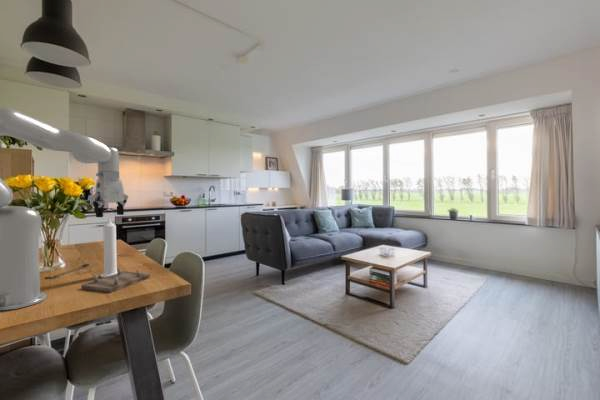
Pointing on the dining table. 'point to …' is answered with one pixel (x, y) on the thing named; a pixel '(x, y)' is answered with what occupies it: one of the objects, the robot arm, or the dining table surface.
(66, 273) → the tactical tomahawk
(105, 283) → the peg stand
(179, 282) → the dining table surface
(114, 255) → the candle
